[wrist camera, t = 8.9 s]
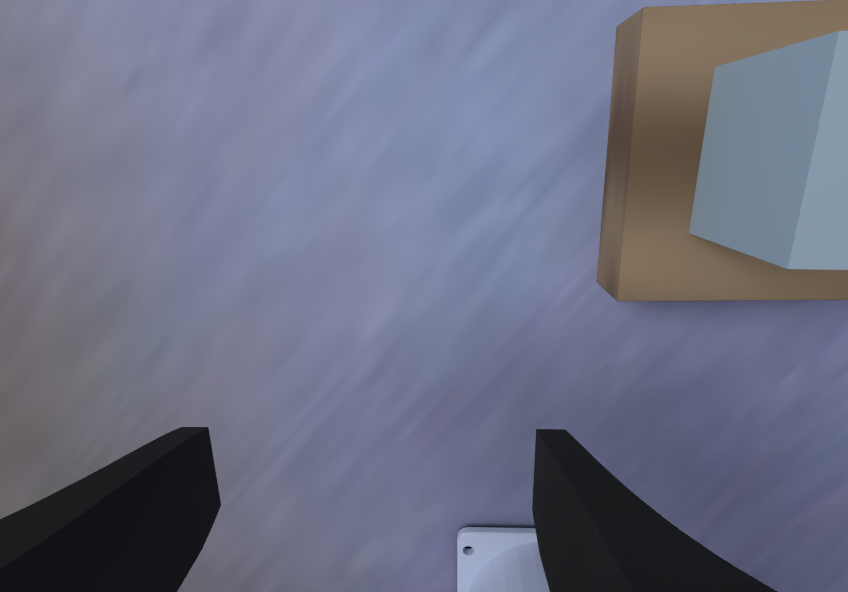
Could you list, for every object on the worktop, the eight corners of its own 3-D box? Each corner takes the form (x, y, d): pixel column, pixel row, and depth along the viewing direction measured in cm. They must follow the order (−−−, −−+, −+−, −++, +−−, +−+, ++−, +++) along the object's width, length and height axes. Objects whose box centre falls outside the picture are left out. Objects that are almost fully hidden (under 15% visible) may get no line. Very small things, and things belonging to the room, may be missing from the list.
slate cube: (846, 234, 16) (1012, 272, 12) (688, 233, 17) (787, 268, 12) (887, 66, 15) (1096, 29, 10) (714, 67, 15) (839, 30, 10)
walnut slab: (827, 276, 20) (891, 299, 17) (593, 279, 20) (617, 301, 17) (882, 20, 17) (968, -6, 14) (612, 29, 18) (643, 7, 15)
